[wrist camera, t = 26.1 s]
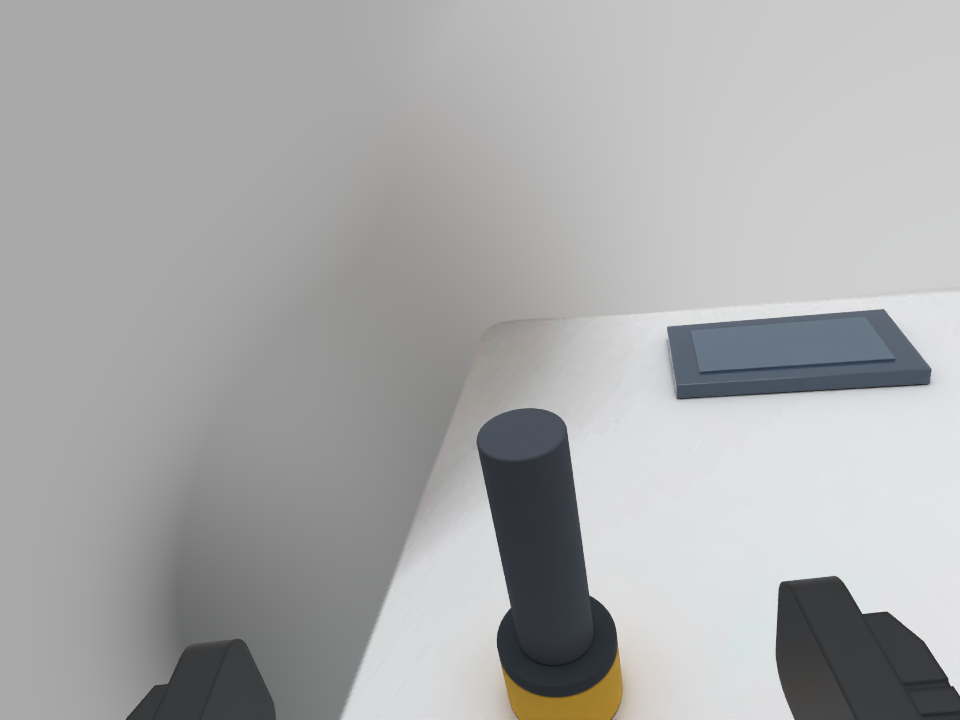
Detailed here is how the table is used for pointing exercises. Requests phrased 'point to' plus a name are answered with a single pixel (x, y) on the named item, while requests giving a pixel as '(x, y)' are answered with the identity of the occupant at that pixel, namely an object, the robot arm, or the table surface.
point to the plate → (793, 355)
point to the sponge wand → (546, 575)
